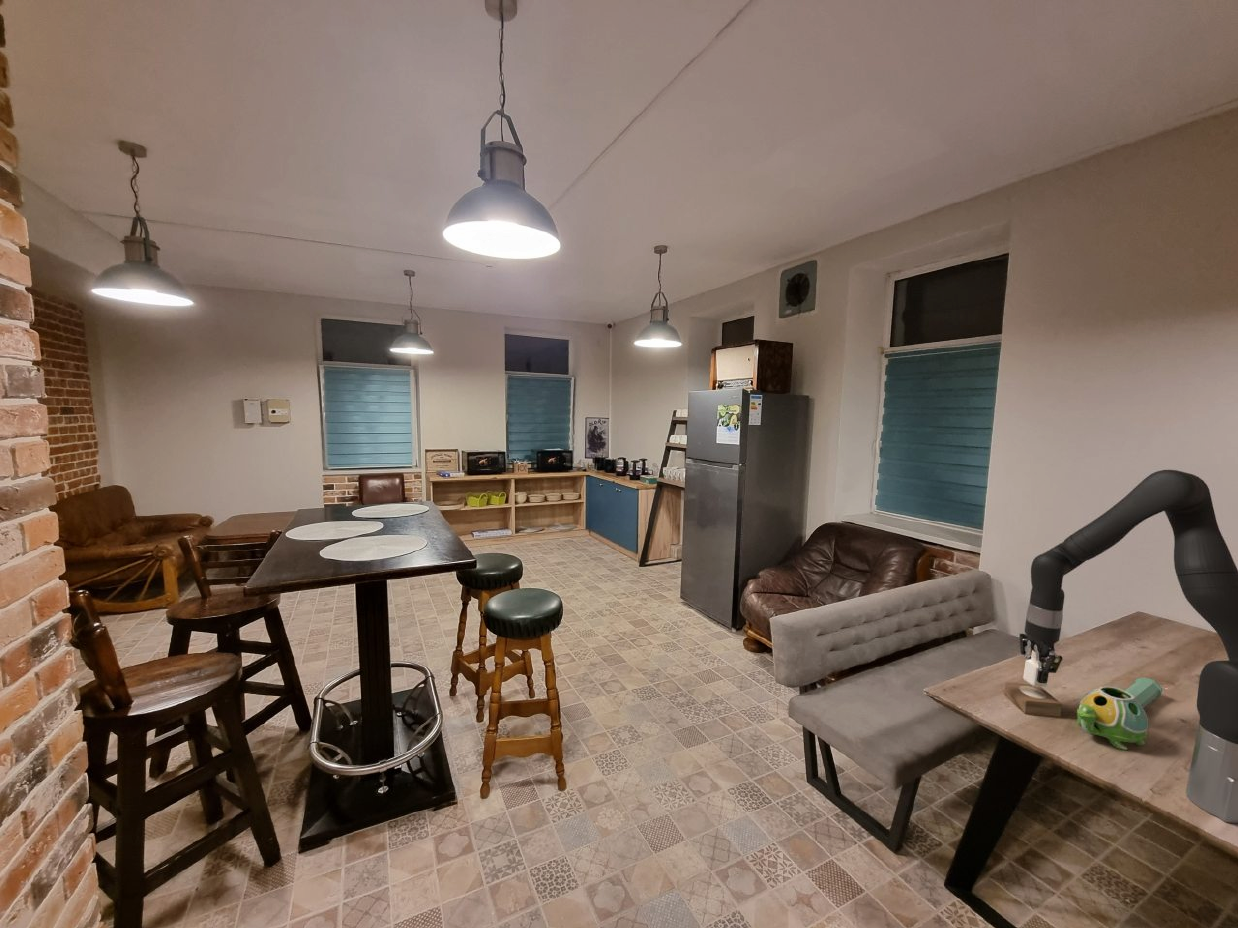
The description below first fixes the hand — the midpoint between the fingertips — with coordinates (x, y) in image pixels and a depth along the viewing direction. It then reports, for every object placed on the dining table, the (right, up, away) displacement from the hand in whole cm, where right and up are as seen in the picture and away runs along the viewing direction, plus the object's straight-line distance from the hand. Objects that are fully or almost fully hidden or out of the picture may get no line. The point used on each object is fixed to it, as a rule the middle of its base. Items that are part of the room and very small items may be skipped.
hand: (1035, 677), depth 140 cm
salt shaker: (0, -2, 0) cm, 2 cm away
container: (+29, -10, +1) cm, 30 cm away
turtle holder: (+9, -11, -11) cm, 18 cm away
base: (0, -9, +1) cm, 9 cm away
